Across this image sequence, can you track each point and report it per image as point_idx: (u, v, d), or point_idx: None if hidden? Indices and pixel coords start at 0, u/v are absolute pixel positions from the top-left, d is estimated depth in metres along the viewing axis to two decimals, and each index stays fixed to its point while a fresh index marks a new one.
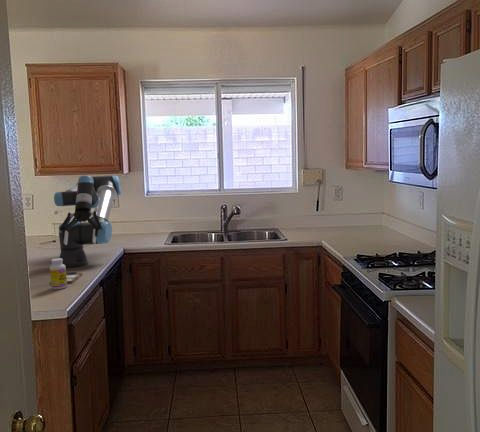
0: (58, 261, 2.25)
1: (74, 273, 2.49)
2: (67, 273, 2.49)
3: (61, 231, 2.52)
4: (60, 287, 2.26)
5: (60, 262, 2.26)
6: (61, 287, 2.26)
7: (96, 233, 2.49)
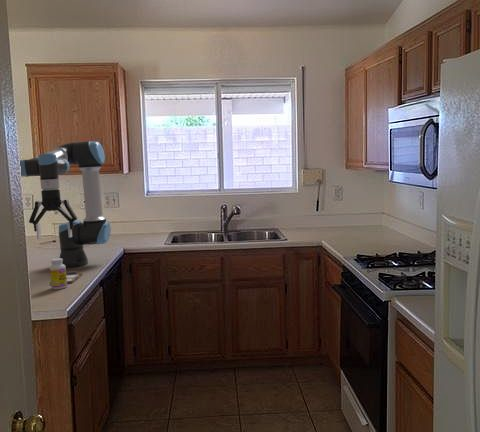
0: (58, 261, 2.25)
1: (74, 273, 2.49)
2: (67, 273, 2.49)
3: None
4: (60, 287, 2.26)
5: (60, 262, 2.26)
6: (61, 287, 2.26)
7: (71, 227, 2.25)
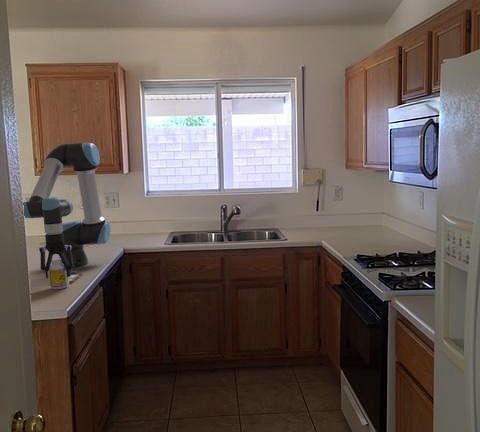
0: (58, 261, 2.25)
1: (74, 273, 2.49)
2: None
3: None
4: (60, 287, 2.26)
5: (60, 262, 2.26)
6: (61, 287, 2.26)
7: (68, 274, 2.27)
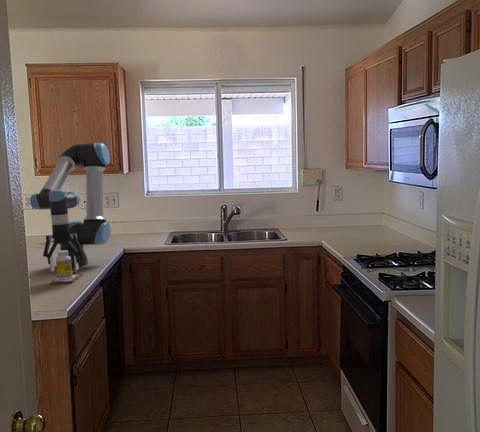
0: (64, 253, 2.38)
1: (74, 273, 2.49)
2: None
3: None
4: (66, 277, 2.39)
5: (66, 254, 2.39)
6: (67, 277, 2.39)
7: (77, 260, 2.40)
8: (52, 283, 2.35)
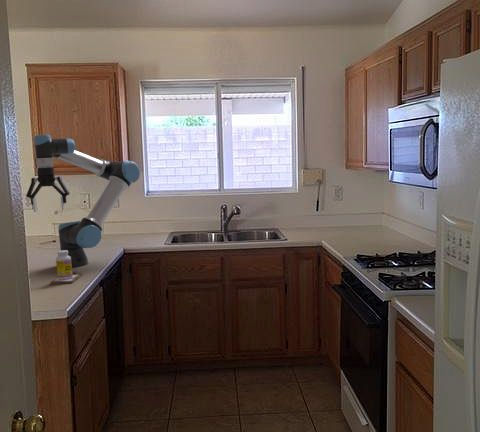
0: (64, 253, 2.39)
1: (74, 273, 2.49)
2: None
3: None
4: (66, 277, 2.39)
5: (66, 254, 2.39)
6: (67, 277, 2.39)
7: (64, 201, 2.51)
8: (52, 283, 2.35)
